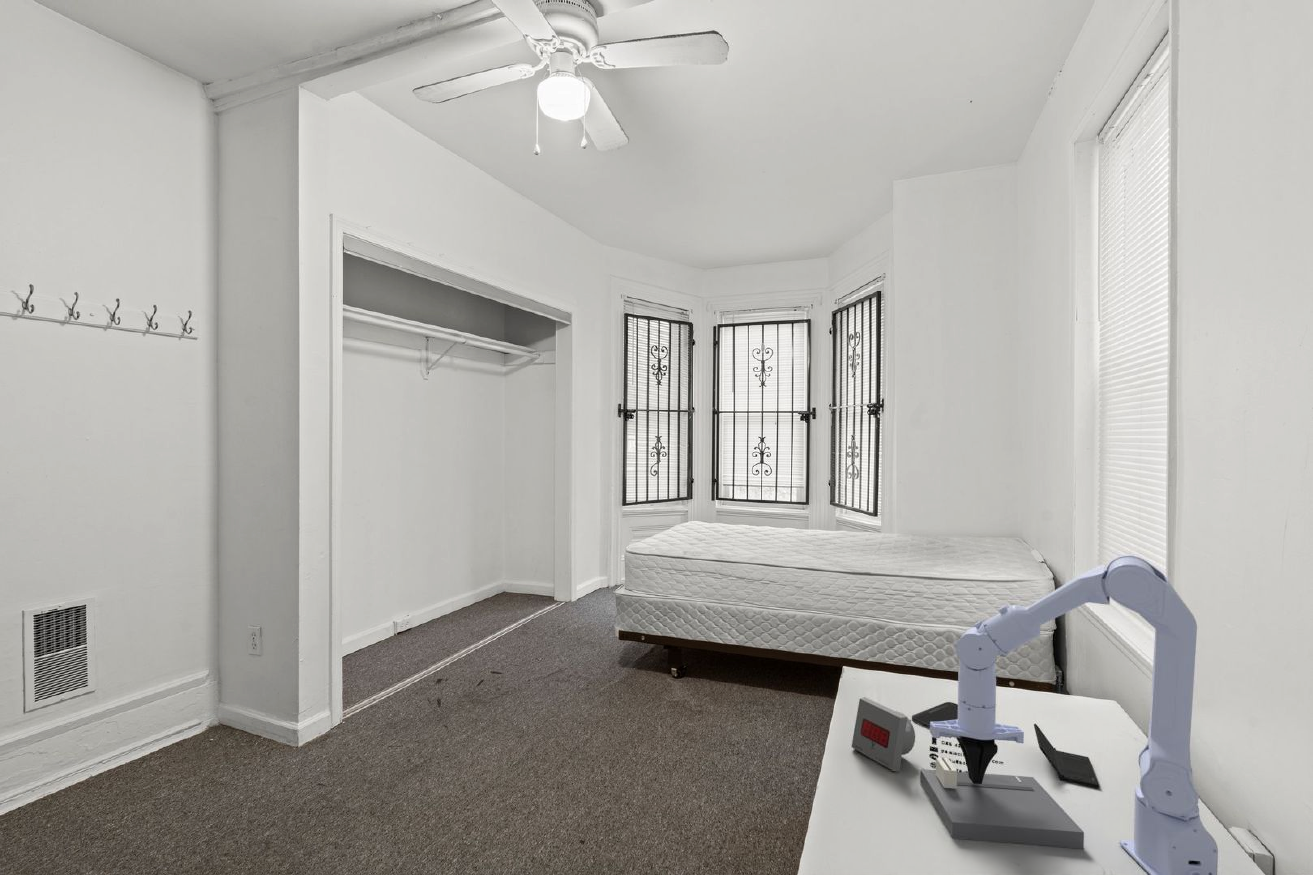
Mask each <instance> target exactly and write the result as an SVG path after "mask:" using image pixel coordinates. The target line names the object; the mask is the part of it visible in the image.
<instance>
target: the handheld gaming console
mask: <svg viewBox="0 0 1313 875" xmlns="http://www.w3.org/2000/svg"><path fill="white" fill-rule="evenodd" d="M1033 727H1034V731H1035V736H1036V740H1037V744H1038V748H1039V750H1040V751H1041V752H1042V754H1043V755H1044V756H1045V758H1046V759H1047V760H1048V762H1049V763H1050V765H1051V767H1053V769H1054V770H1055V772H1056V773H1057V774H1058V778H1059V781H1062V782H1066V783H1070V784H1076V785H1079V786H1083V787H1088V788H1092V789H1096V790H1099V789H1100V783H1099V781H1098V778H1097V776H1096V772H1095V771H1094V767H1093V765H1092V762H1091V760H1090V757H1088V756H1084V755H1080V754H1076V753H1072V752H1071V753H1070V752H1066V751H1062V750H1061V751H1060V750H1057V748H1056V747H1054V746H1053V745H1052V744H1051V742H1050V740H1048V738H1047V736H1046V735H1045V734H1044V733H1043V731H1042V730H1041V728H1039V726H1038V725H1037V723H1034V724H1033Z"/></svg>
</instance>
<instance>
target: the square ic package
mask: <svg viewBox="0 0 1313 875" xmlns="http://www.w3.org/2000/svg"><path fill="white" fill-rule="evenodd" d="M911 715H912V716H911V721H912V722H914V723H915V724H918V723H919V724H918V725H920V726H923V727H925V728H926V729H929V728H930V722H933V721H935V722H940V721H949V720H957V719H958V703H955V702H951V701H947V702H944V703H941V704H938V705H935V706H932V707H931V708H928V709H925V710H922V711H920V712H918V713H915V714H911Z"/></svg>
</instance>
